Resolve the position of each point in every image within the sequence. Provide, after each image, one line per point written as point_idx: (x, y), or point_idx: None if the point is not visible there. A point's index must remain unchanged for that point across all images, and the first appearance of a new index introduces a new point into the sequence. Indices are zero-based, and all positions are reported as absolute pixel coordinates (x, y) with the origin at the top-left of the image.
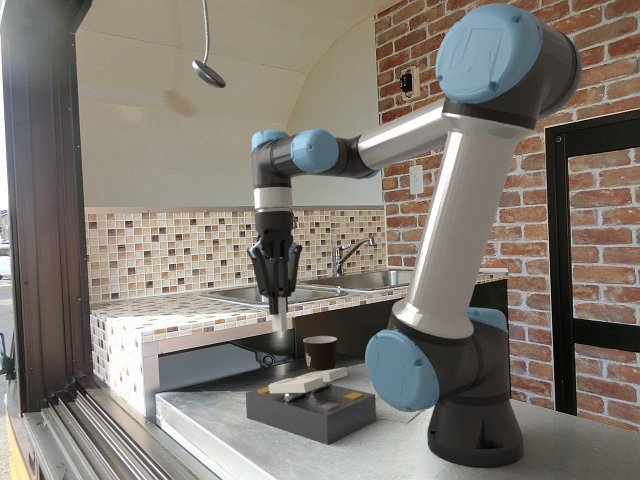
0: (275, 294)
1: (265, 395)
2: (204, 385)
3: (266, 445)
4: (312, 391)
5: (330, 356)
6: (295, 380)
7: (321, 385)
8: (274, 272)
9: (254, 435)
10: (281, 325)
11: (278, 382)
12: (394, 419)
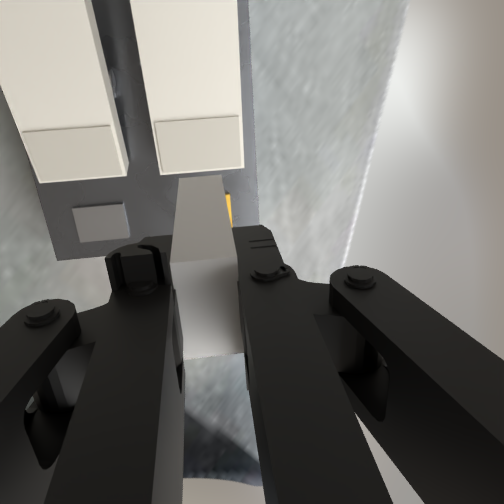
0: (289, 275)
1: (238, 178)
2: (190, 457)
3: (335, 23)
4: (115, 82)
5: None
6: (182, 95)
7: None
8: (353, 450)
9: (311, 103)
10: (221, 186)
11: (221, 145)
12: None
